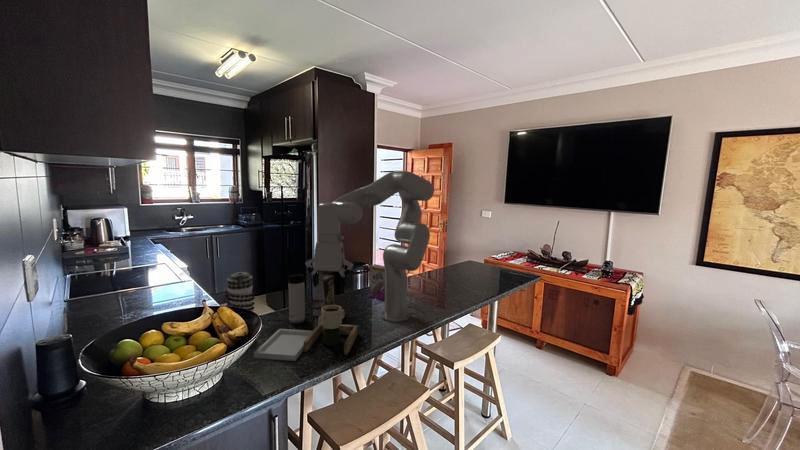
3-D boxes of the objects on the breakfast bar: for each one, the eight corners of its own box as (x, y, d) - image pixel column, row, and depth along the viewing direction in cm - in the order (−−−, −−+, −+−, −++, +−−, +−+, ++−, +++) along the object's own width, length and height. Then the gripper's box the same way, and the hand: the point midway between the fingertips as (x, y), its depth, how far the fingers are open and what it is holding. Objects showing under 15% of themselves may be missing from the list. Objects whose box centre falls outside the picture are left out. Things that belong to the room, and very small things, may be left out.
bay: (357, 334, 124) (357, 325, 124) (347, 354, 109) (347, 344, 109) (319, 331, 126) (318, 323, 125) (303, 351, 111) (303, 341, 110)
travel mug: (290, 325, 131) (289, 276, 129) (288, 319, 137) (287, 272, 135) (306, 322, 134) (305, 275, 132) (303, 316, 140) (302, 271, 137)
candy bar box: (368, 297, 165) (368, 265, 163) (374, 294, 169) (374, 263, 167) (386, 301, 159) (387, 269, 157) (392, 299, 164) (393, 267, 162)
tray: (315, 335, 123) (315, 330, 122) (295, 360, 105) (295, 355, 105) (279, 333, 124) (279, 328, 124) (253, 357, 106) (253, 352, 106)
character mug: (338, 335, 123) (338, 302, 122) (350, 341, 118) (350, 307, 117) (313, 344, 115) (312, 309, 114) (324, 352, 111) (323, 315, 109)
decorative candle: (228, 338, 119) (225, 271, 116) (256, 333, 123) (253, 269, 120) (226, 349, 111) (223, 278, 108) (256, 344, 115) (254, 275, 112)
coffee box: (326, 317, 140) (326, 280, 138) (312, 315, 141) (311, 279, 139) (334, 309, 148) (334, 275, 147) (321, 308, 150) (321, 273, 148)
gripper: (356, 237, 116) (355, 284, 118) (309, 235, 118) (310, 281, 120) (350, 241, 109) (349, 291, 111) (300, 239, 111) (301, 287, 113)
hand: (329, 286), depth 115 cm, fingers open, 9 cm apart
